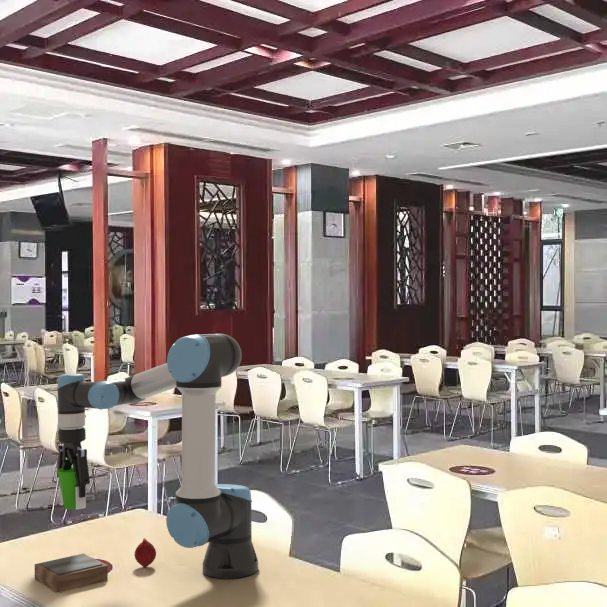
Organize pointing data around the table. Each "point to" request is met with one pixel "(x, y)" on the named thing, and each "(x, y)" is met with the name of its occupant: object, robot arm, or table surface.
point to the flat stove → (71, 572)
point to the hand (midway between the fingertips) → (73, 505)
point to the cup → (68, 487)
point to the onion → (145, 553)
